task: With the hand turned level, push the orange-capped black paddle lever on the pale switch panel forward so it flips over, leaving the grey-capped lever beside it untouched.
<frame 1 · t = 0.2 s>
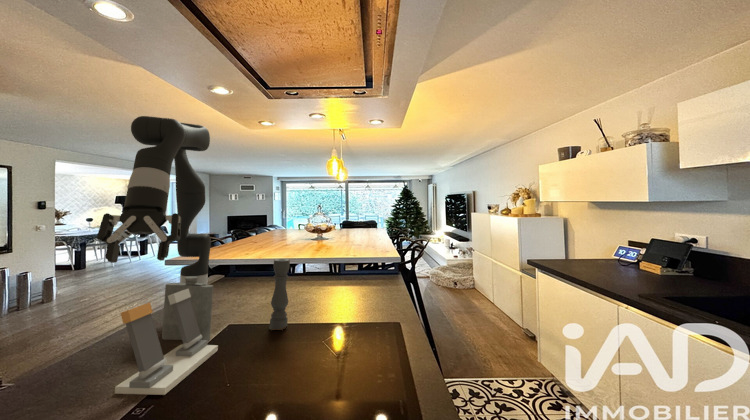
hand: (136, 261, 60), 30 cm above the kitchen island, tool tilted 20°, fingers open, 8 cm apart
grey lever: (186, 317, 82), point 11 cm above the kitchen island, hinge at -20.0°
switch panel: (173, 368, 74), on the kitchen island
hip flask: (186, 339, 93), on the kitchen island
candle holder: (278, 328, 104), on the kitchen island
orange lever: (144, 339, 67), point 11 cm above the kitchen island, hinge at -20.0°
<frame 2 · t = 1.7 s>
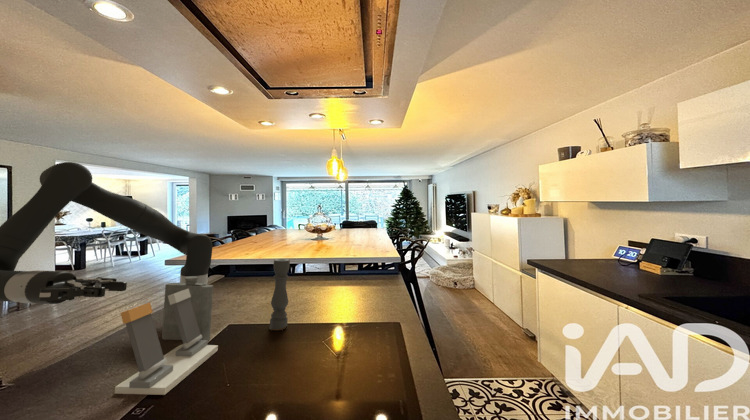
hand: (114, 289, 67), 22 cm above the kitchen island, tool horizontal, fingers open, 5 cm apart
nothing on the kitchen island moved.
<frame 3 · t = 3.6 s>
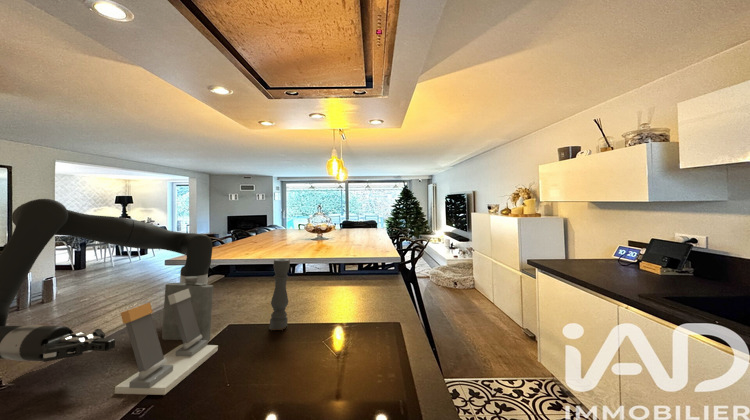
hand: (112, 344, 67), 9 cm above the kitchen island, tool horizontal, fingers closed
nothing on the kitchen island moved.
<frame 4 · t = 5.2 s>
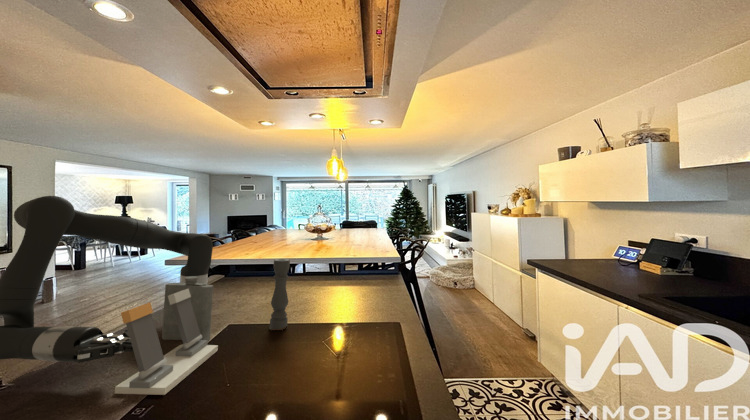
hand: (143, 345, 67), 9 cm above the kitchen island, tool horizontal, fingers closed
orange lever: (145, 339, 67), point 11 cm above the kitchen island, hinge at -19.7°, touching gripper
everything else where it was.
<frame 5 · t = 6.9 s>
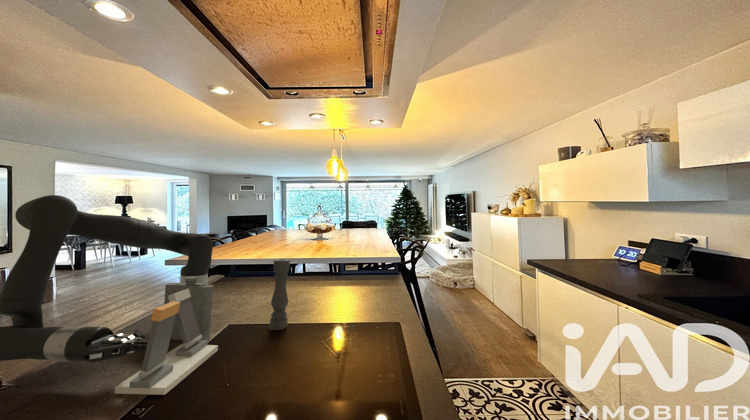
hand: (154, 345, 67), 9 cm above the kitchen island, tool horizontal, fingers closed
orange lever: (160, 338, 67), point 11 cm above the kitchen island, hinge at 9.4°
everything else where it was.
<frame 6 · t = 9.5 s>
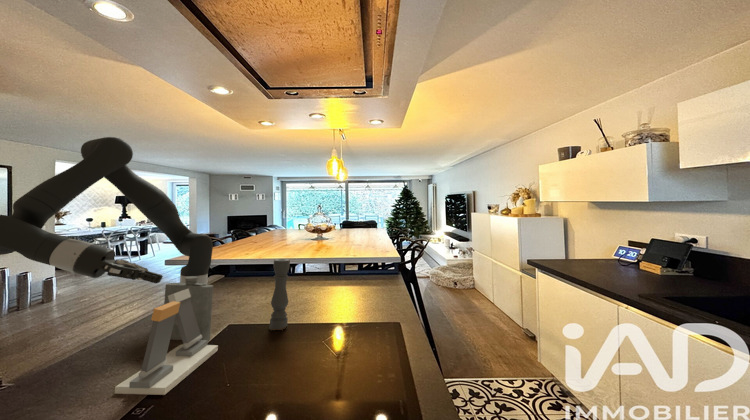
hand: (160, 279, 76), 23 cm above the kitchen island, tool tilted 70°, fingers closed
nothing on the kitchen island moved.
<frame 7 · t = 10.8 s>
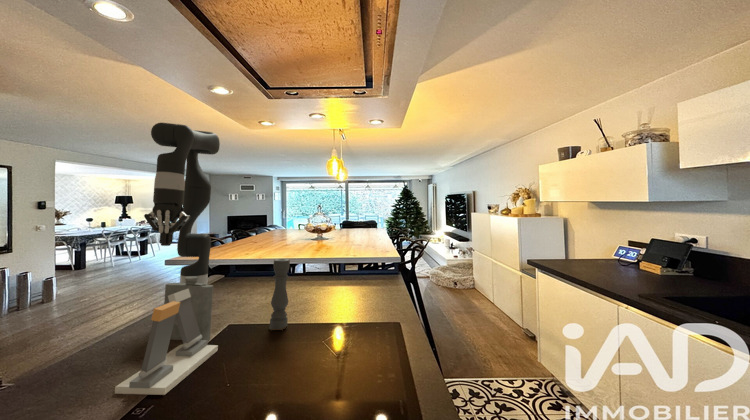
hand: (165, 245, 85), 31 cm above the kitchen island, tool pointing down, fingers closed
nothing on the kitchen island moved.
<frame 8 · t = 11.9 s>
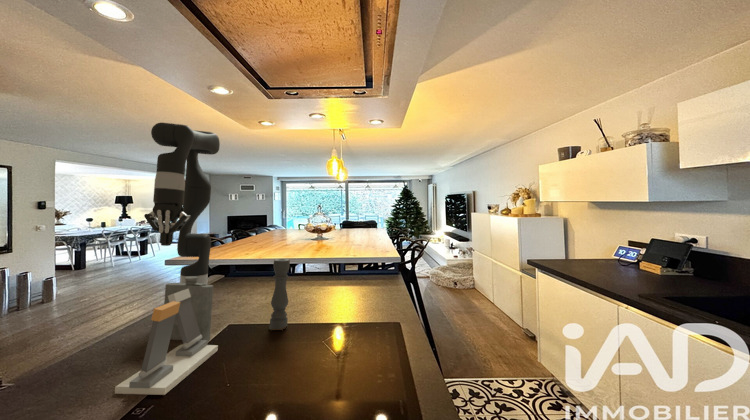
hand: (165, 245, 85), 31 cm above the kitchen island, tool pointing down, fingers closed
nothing on the kitchen island moved.
at the end: orange lever at +9° (first picture: -20°); grey lever at -20° (first picture: -20°) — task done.
